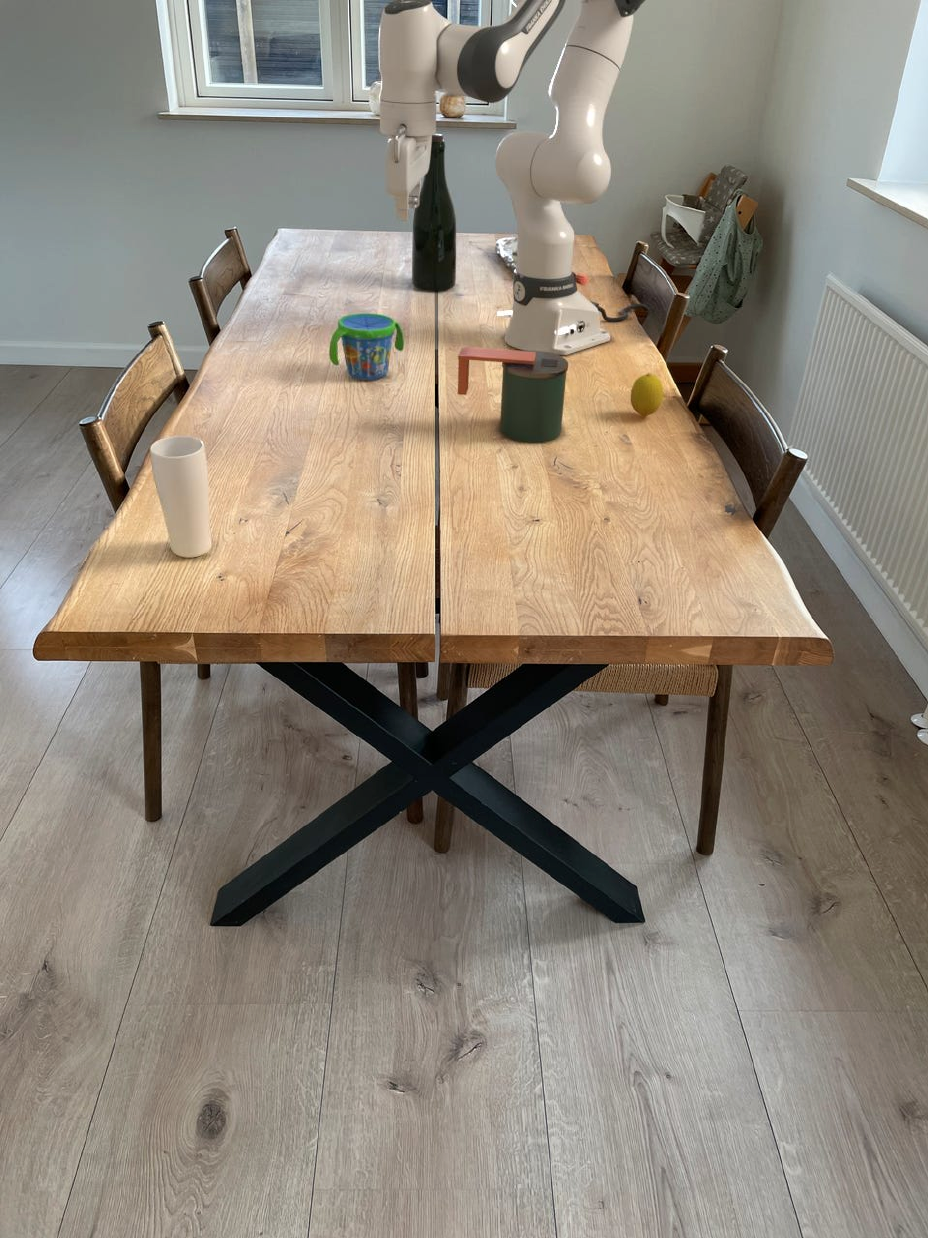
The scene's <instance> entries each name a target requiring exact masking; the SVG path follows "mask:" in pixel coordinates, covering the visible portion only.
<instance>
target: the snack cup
mask: <svg viewBox="0 0 928 1238" xmlns="http://www.w3.org/2000/svg"><path fill="white" fill-rule="evenodd" d="M395 332H396V334H395ZM394 335H395V340H394V348H395V349H396V350H397V351H398V352H402V351H403V350H404V347H405V337H404V331H403V329H402V326H401V325H400V323H399V322H397V321H395V319H394V318H392V317H390V316H387V315H383V314H378V313H368V312H367V313H363V312H362V313H353V314H352V313H351V314H347V315H344V316H342V317H341V318H339V320H338V321H337V328H336V329H335V331H334V332H333V334H332V336H331V339H330V344H329V347H328V349H329V350H328V356H329V360H330V362H331V363H332V364H333V365H334V366H339V365H340V360H339V351H338V349H339V347H338V342H339V341H340V339H341V343H342V348H343V354H344V360H345V366H346V370H347V373H348V375H350V378H352V379H357V380H362V381H374V380H379V379H381V378H383V377H387V375H388V372H389V367H390V360H391V353H392V340H393V336H394Z"/></svg>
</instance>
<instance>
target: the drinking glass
mask: <svg viewBox="0 0 928 1238" xmlns="http://www.w3.org/2000/svg"><path fill="white" fill-rule="evenodd" d="M149 453H150V464H151V469H152V470H151V471H152V475H153V479H154V480H153V481H154V484H155V488H156V492H157V495H158V500H159V504H160V508H161V511H162V515H163V518H164V522H165V523H164V524H165V526H166V530H167V531H166V532H167V535H168V539H169V540H168V541H169V545H170V546H169V547H170V549H171V551H172V553H173V554H175V555H176V556H178V557H181V558H189V559H190V558H197V557H198V558H199V557H200V556H203V555H205V554H206V553H208V552H209V551H210V550H211V549H212V547H213V546H212V545H213V542H212V541H213V539H212V534H211V515H210V514H211V513H210V486H209V483H210V482H209V468H208V460H207V456H206V455H207V454H206V449H205V444H204V441H202V440H201V439H200V438H197V437H194V436H191V435H173V436H168V437H167V436H166V437H163V438H160V439H158V440H156V441H155V442H153V443H152V444H151V445H150V447H149Z"/></svg>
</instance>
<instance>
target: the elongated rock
mask: <svg viewBox="0 0 928 1238" xmlns="http://www.w3.org/2000/svg"><path fill="white" fill-rule="evenodd" d="M517 245H518V237H514V236H513V237H509V236H507V237H502V238H500V239H498V240H497V241H496V244H495V250H496V255H497V256H498V257H499V258H500V262H501V263H502V264H503V265H504V266H505V268H506V269H507V270H508V271H509V272H510V273H511V274H512V275H513V276H514V271H515V270H516V269H517Z"/></svg>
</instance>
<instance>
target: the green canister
mask: <svg viewBox="0 0 928 1238" xmlns="http://www.w3.org/2000/svg"><path fill="white" fill-rule="evenodd" d="M528 352H536V356H535V360H534V364H520V363H506V362H501V368H502V379H501V380H502V381H501V396H500V397H501V400H500V418H499V419H500V420H499V432H500V433H501V434H502V435H503V437H505V438H507V439H509V440H512V441H515V442H519V443H526V444H543V443H547V442H551V441H554V440H556V439H558V438H559V437H560V436H561V434H562V428H563V427H562V426H563V417H564V416H563V414H564V404H565V403H564V402H565V393H566V382H567V381H566V380H567V372H568V369H569V361H568V359H566V358H565V357H563V356H562V355H558V354H553V353H549V352H543V351H528Z"/></svg>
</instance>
